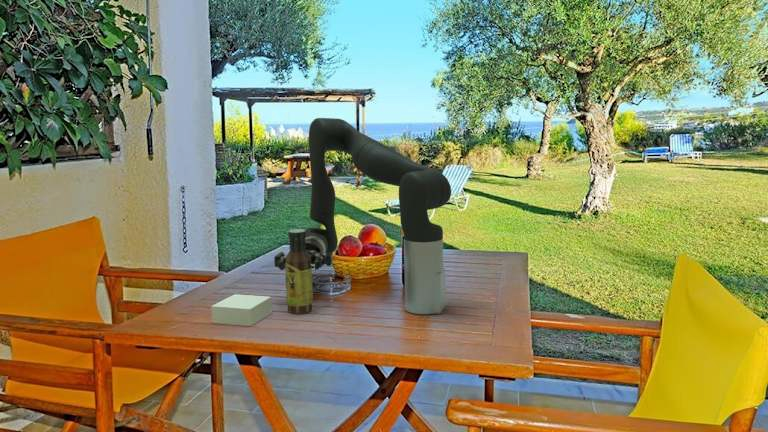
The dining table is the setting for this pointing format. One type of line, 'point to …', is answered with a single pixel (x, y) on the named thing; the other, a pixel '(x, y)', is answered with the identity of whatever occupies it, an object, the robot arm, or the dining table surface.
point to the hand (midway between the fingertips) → (298, 265)
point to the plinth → (241, 310)
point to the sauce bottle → (298, 274)
